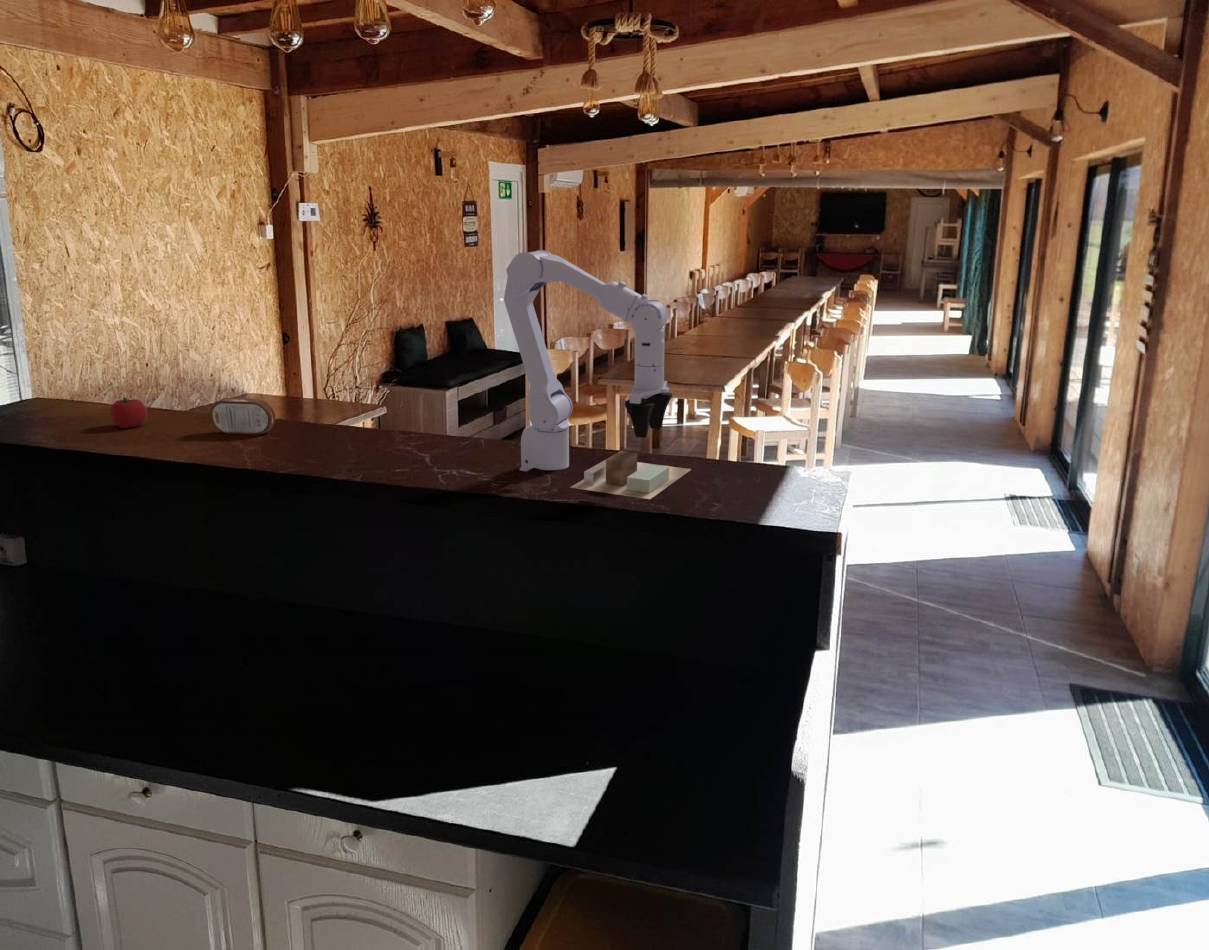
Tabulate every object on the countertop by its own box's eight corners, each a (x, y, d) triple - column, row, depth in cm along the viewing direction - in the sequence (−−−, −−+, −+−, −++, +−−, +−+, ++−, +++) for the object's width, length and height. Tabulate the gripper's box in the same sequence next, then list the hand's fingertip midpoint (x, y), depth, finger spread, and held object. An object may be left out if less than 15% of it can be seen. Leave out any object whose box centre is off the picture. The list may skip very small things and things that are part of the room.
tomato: (121, 432, 223) (117, 402, 221) (106, 426, 228) (101, 397, 226) (154, 426, 229) (150, 396, 227) (138, 421, 234) (134, 392, 232)
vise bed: (570, 492, 179) (570, 487, 179) (617, 464, 198) (618, 459, 198) (649, 504, 173) (649, 499, 172) (691, 473, 192) (691, 469, 191)
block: (605, 484, 181) (606, 459, 180) (620, 475, 187) (621, 450, 186) (622, 486, 180) (622, 461, 178) (636, 477, 186) (637, 452, 184)
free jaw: (626, 489, 177) (626, 477, 177) (647, 476, 186) (647, 464, 185) (649, 493, 175) (649, 480, 175) (669, 479, 184) (669, 467, 183)
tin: (277, 433, 223) (274, 398, 221) (271, 436, 220) (268, 401, 218) (217, 431, 225) (213, 396, 222) (210, 434, 222) (206, 399, 219)
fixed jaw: (584, 484, 181) (584, 471, 180) (606, 471, 190) (606, 459, 189) (593, 485, 180) (593, 473, 180) (615, 472, 189) (615, 460, 188)
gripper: (654, 371, 174) (653, 443, 178) (681, 360, 186) (680, 426, 190) (619, 369, 177) (619, 439, 180) (648, 357, 189) (648, 423, 193)
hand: (648, 432), depth 186 cm, fingers open, 7 cm apart
